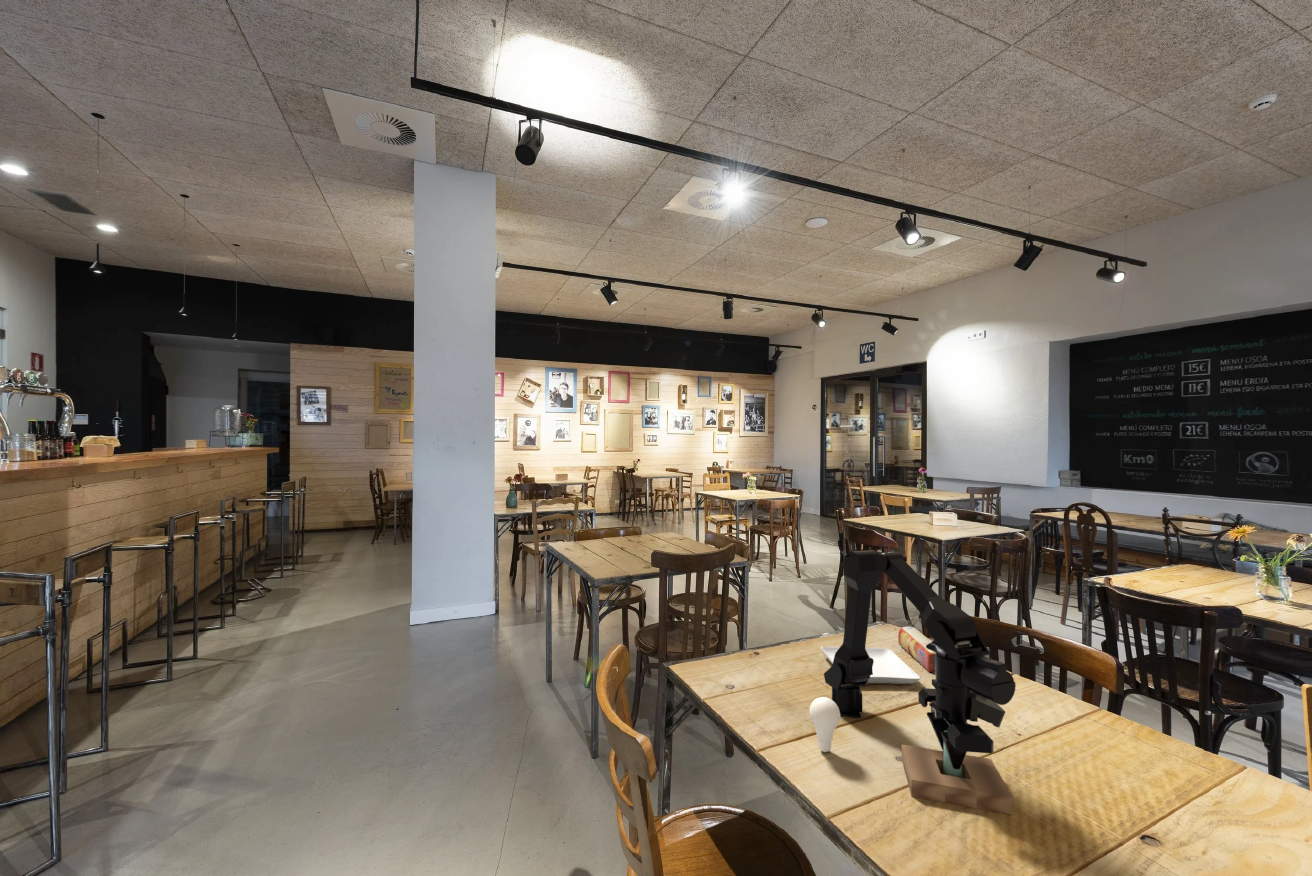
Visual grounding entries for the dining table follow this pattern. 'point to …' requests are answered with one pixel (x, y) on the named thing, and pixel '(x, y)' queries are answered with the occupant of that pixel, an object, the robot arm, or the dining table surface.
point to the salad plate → (883, 666)
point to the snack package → (917, 647)
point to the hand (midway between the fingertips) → (952, 763)
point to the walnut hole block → (956, 780)
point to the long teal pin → (950, 765)
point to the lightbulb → (824, 720)
